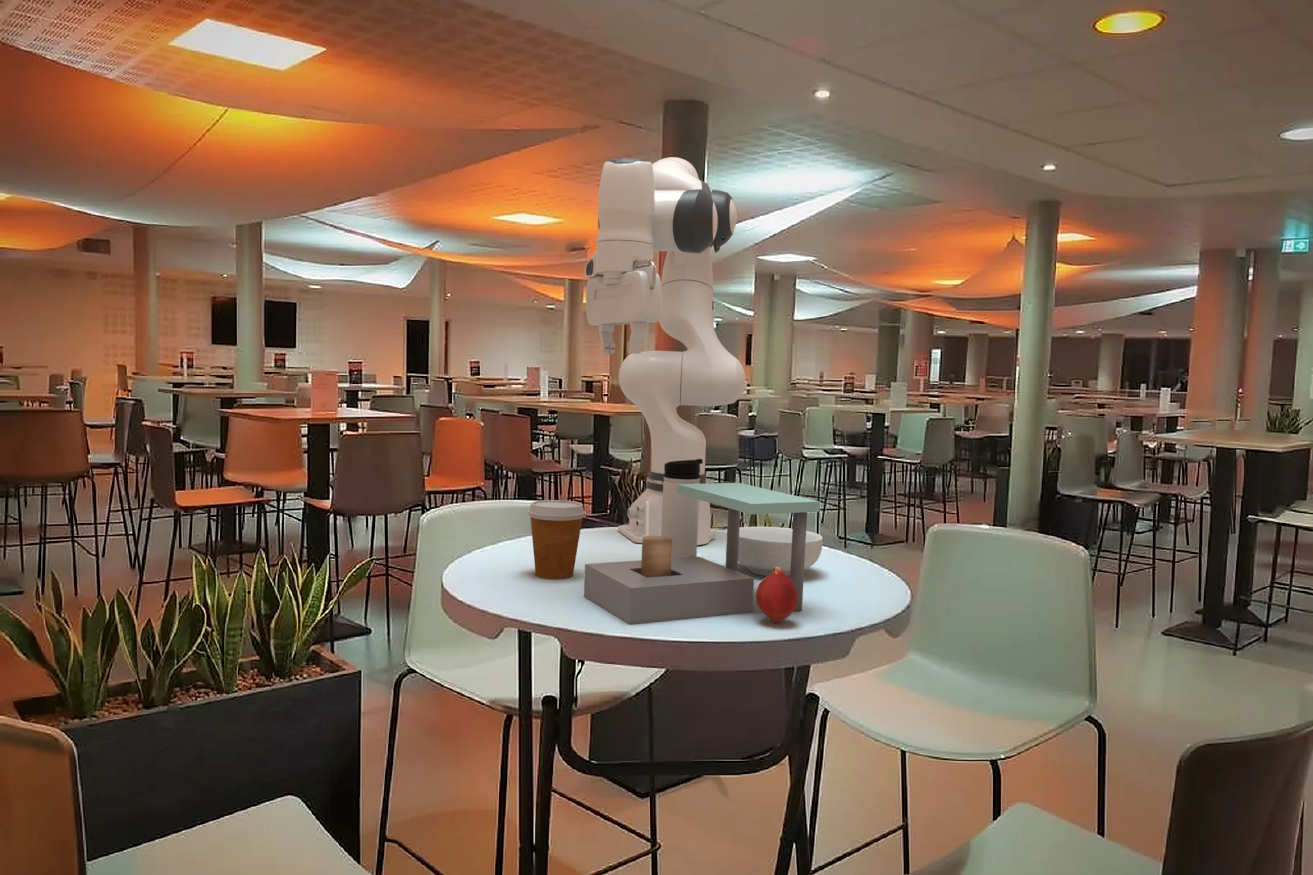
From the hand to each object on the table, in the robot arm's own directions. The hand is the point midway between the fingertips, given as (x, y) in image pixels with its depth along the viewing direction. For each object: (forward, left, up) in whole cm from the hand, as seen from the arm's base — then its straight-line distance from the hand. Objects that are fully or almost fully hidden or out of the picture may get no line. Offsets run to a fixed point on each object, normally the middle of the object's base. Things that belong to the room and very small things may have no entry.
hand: (620, 353), depth 140 cm
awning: (+11, +17, -37) cm, 42 cm away
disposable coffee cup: (-12, -5, -37) cm, 40 cm away
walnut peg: (+11, +2, -37) cm, 39 cm away
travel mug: (-7, +16, -37) cm, 41 cm away
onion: (+25, +14, -37) cm, 47 cm away
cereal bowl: (-3, +33, -37) cm, 50 cm away
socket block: (+11, +4, -37) cm, 39 cm away
